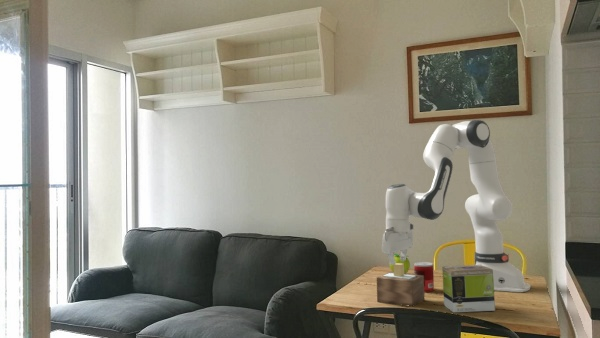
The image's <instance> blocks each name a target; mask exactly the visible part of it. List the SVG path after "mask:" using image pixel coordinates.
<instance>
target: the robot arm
mask: <svg viewBox="0 0 600 338" xmlns="http://www.w3.org/2000/svg"><path fill="white" fill-rule="evenodd" d="M490 137H491V130H490V128H489V126H488V124H487V122H485V121H484V120H481V119H473V120H465V121H460V122H458V123H454V124H448V123H444V124H439V125H438V126H437V127H436V129H435V130H434V131H433V133H432V135H431V136H430V138H429V139H428V142H427V143H426V146H425V148H424V149H423V154H422V159H423V161H424V163H425V164H426V166H427V167H429V168H430V169H431V170H433V171H434V177H433V180H432V183H431V186H430V189H429V190H428V191H426V192H416V191H414V190H412V189H410V188H409V187H408V186H407V184H406V183H405V184H404V183H398V184H393V185H389V186H388V187H387V189H386V192H385V212H386V213H385V214H386V215H385V231H384V233H383V234H382V241H381V243H382V244H381V251H382V253H383V254H387V257H388V261H389V263H390V265H394V264H395V259H394V256H395V255H394V254H396V253H398V252H401V253H400V255H399V256H400V260H401V261H405V260H406V256H407V253H408V249H412V247H413V242H414V235H413V234H414V232H413V230H414V228H415V226H414V223H412V222H411V221H410V217H413V218H419V219H420V218H421V219H426V220H429V221H431V220H432V221H433V220H436V219H439V217H441V215H442V214H443V212H444V208H445V201H446V200H445V199H446V195H447V191H448V188H449V185H450V181H451V177H452V173H453V169H454V167H453V162H452V158H453V155H454V153H455V151H456V149H460V150H461V149H466V151H467V153H468V166H469V176H470V182H471V183H472V184H473V186H474V188H475V189H476V192H477V193H476V194H473V195H471V196H469V197H468V198H467V199H466V200H465V204H464V209H465V211H466V213H467V214H468V215H469V218H470V220H471V224H472V227H473V231H474V242H475V252H474V265H483V266H485V267H488V268H490V269H493V281H494V291H498V292H511V293H525V292H528V291H530V289H531V284H529V283H526V282H525V277H524V274H523V272H522V270H520V269H518V268H517V267H516V266H515V265H513V264H512V263H510V261H509V260H510V259H509V257H510V254H507V253H505V252H504V235H503V233H502V231H501V230H500V228H499V226H498V223H497V222H498V221H504V220H507V219H509V218H510V217H511V215H512V214H513V211H514V205H513V203H512V201H511V200H510V198H508V197H507V195H506V194H505V192H504V189H503V186H502V185H501V181H500V178H499V172H498V171H499V170H498V165H497V158H496V157H497V156H496V152H495V147H494V145H493V142H492V140H491V138H490ZM390 265H389V266H390Z"/></svg>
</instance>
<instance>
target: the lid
mask: <svg viewBox="0 0 600 338" xmlns="http://www.w3.org/2000/svg"><path fill="white" fill-rule="evenodd" d="M393 266H394V272H393V273H390V272H388V274H387V273H386V274H384V275H382V277H390V278H399V279H408V280H412V279H414V278H416V276H413V275H414V274H413V275H404V264H402V263H396V264H394V265H393Z"/></svg>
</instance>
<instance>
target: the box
mask: <svg viewBox="0 0 600 338" xmlns="http://www.w3.org/2000/svg"><path fill="white" fill-rule="evenodd" d="M388 273H394V272H393V271H391V272H388ZM388 273H386V274H388ZM404 275H413V276H416V278H414V279H412V280H408V279H399V278H390V277H383V276H377V277H376V297H377V298H376V299H377V300H376V302H377V303H383V304H391V305H396V304H402V305H401V306H403V305H409V306H408V307H410V306H412V307H414V306H416V305H418V304H420V303H421V302H423V301H425V292H424V276H422V275H415V274H411V273H406V274H404ZM419 302H420V303H419ZM417 303H418V304H417ZM415 304H416V305H415ZM413 305H414V306H413Z"/></svg>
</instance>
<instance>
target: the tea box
mask: <svg viewBox="0 0 600 338" xmlns="http://www.w3.org/2000/svg"><path fill="white" fill-rule="evenodd" d="M442 288H443V290H442V291H443V303H444V304H443V305H444V307H446V308H447V309H448V310H449V309H450V312H452V313H466V312H467V313H472V312H491V311H492V312H496V300H495V290H494V281H493V269H490V268H488V267H485V266H483V265H475V264H465V265H464V264H463V265H447V266H444V265H443V266H442Z"/></svg>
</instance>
